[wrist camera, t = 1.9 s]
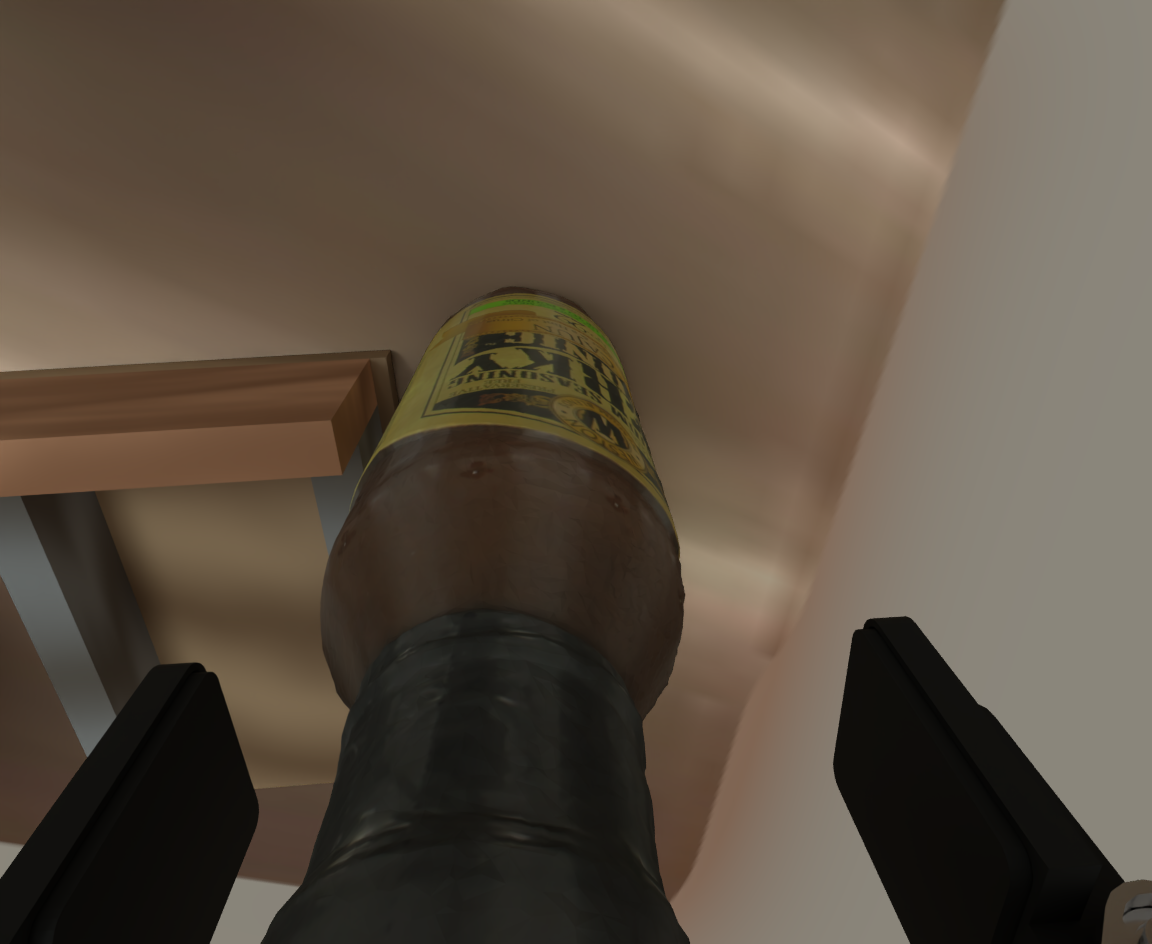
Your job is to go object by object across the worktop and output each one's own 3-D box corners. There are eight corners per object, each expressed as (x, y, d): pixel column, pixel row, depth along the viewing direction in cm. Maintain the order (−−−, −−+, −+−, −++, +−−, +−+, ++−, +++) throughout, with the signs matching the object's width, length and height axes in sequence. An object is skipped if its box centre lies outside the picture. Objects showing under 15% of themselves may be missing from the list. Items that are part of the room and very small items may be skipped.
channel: (-1, 372, 22) (-159, 450, 17) (390, 350, 23) (351, 418, 18) (168, 780, 30) (96, 917, 25) (455, 757, 31) (441, 887, 26)
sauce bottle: (654, 350, 23) (1073, 1094, 6) (544, 491, 25) (598, 1365, 8) (487, 231, 21) (322, 798, 4) (382, 394, 23) (-51, 1270, 6)
